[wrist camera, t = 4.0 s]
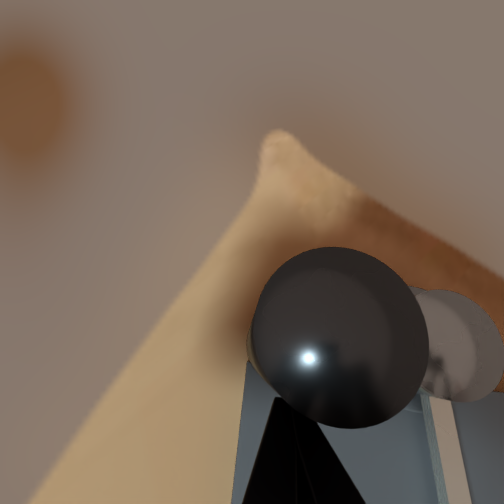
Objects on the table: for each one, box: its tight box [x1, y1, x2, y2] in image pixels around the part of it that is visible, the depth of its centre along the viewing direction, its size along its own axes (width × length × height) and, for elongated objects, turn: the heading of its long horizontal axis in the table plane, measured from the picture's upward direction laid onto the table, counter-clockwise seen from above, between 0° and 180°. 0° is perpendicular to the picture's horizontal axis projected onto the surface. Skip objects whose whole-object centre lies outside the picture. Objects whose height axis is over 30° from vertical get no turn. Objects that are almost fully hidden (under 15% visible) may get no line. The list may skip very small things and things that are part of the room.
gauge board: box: [231, 286, 504, 504], centre depth 13 cm, size 17×14×1 cm
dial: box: [246, 247, 504, 504], centre depth 9 cm, size 10×12×8 cm
